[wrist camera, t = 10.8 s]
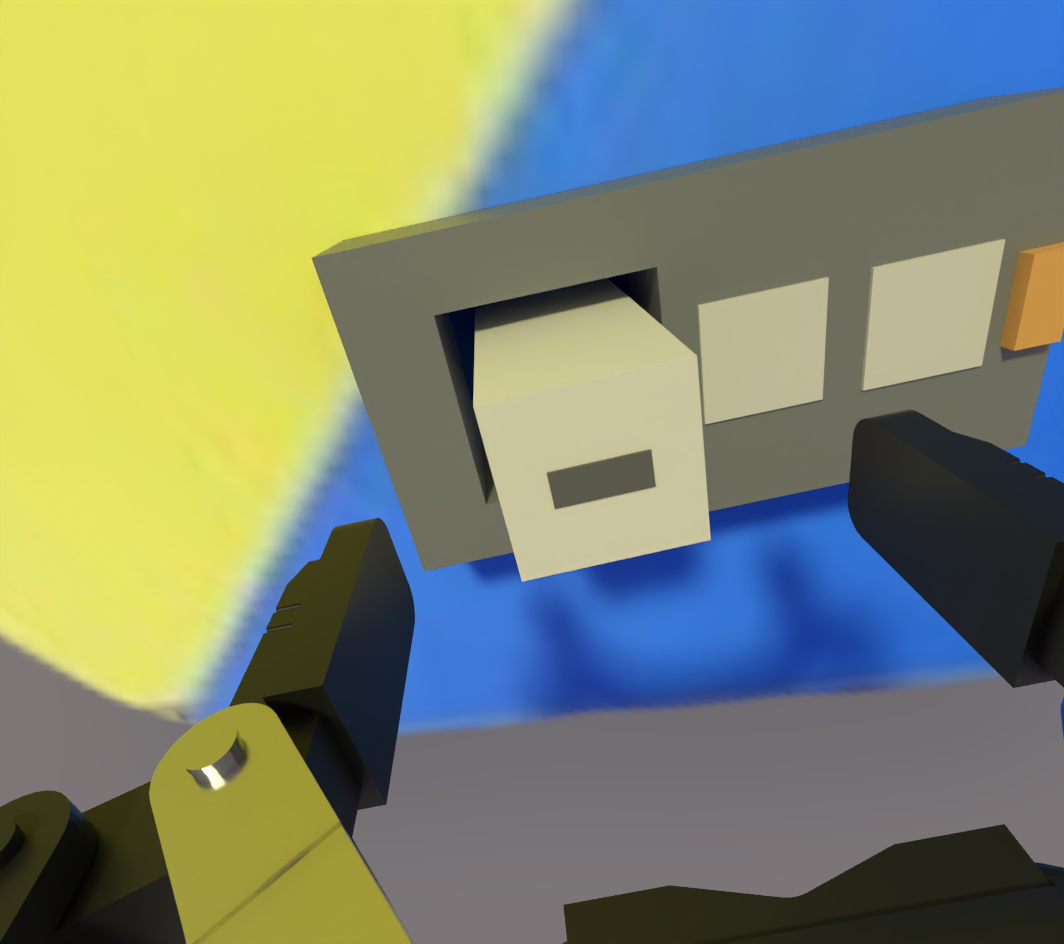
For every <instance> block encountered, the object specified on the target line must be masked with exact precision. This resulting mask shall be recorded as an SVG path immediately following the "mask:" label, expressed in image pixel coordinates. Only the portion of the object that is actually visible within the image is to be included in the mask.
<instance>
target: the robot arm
mask: <svg viewBox="0 0 1064 944" xmlns="http://www.w3.org/2000/svg"><path fill="white" fill-rule="evenodd" d="M848 508H849V513H850V517H851V520H852V522H853V525H854V527H855V528H856V530H857V532H858V533H859V535H860V536H861V537H862V538H863V539H864V540H865V541H866V542H867V543H868V544H869V545H870V546H871V547H872V548H873V549H874V550H875V551H876V552H877V553H878V554H879V555H880V556H881V557H882V558H883V559H884V560H885V561H886V562H887V563H888V564H889V565H890V566H891V567H892V568H893V569H894V570H895V571H896V572H897V573H898V574H899V575H900V576H901V577H902V578H903V579H904V580H905V581H906V582H907V583H908V584H909V585H910V586H911V587H912V588H913V589H914V590H915V591H916V592H917V593H918V594H919V595H920V596H921V597H922V598H923V599H924V600H925V601H926V602H927V603H928V604H929V605H930V606H931V607H932V608H933V609H934V610H935V611H937V612H938V613H939V614H940V615H941V616H942V617H943V618H944V619H945V620H946V621H947V622H948V623H949V624H950V625H951V626H952V627H953V628H954V629H955V630H956V631H957V632H958V633H959V634H960V635H961V636H962V637H963V638H964V639H965V640H966V641H967V642H968V643H969V644H970V645H971V646H972V647H973V648H974V649H975V650H976V651H977V652H978V653H979V654H980V655H981V656H982V657H983V658H984V659H985V660H986V661H987V662H988V663H989V664H990V665H991V666H992V667H993V668H994V669H995V670H996V671H997V672H998V673H999V674H1000V675H1001V676H1002V677H1003V678H1004V679H1005V680H1006V681H1007V682H1008V683H1009V684H1010V685H1011V686H1012V687H1013V688H1015V687H1021V686H1026V685H1031V684H1036V683H1041V682H1047V681H1052V680H1056V681H1057V682H1058V683H1059V684H1061V685H1062V686H1063V687H1064V483H1062V482H1060V481H1058V480H1057V479H1055V478H1053V477H1048V478H1046V476H1045V473H1044V472H1042V471H1040V470H1039V469H1037V468H1035V467H1033V466H1031V465H1029V464H1028V463H1026V462H1025V463H1020V459H1019V458H1017V457H1015V456H1013V455H1011V454H1010V453H1008V452H1006V451H1004V450H1002V449H1001V448H999V447H997V446H995V445H993V444H992V443H990V442H986V441H983V440H979V439H976V438H972V437H969V436H966V435H962V434H959V433H955V432H952V431H950V430H949V429H947V428H945V427H943V426H942V425H940V424H938V423H936V422H935V421H933V420H931V419H930V418H928V417H926V416H924V415H923V414H921V413H919V412H917V411H915V410H904V411H899V412H894V413H889V414H885V415H880V416H875V417H870V418H865V419H862V420H860V421H859V422H858V423H857V424H856V426H855V429H854V432H853V441H852V454H851V466H850V479H849V491H848ZM276 610H277V612H276V613H273V615H272V617H271V620H270V622H269V624H268V626H267V628H266V629H267V633H264V634H263V636H262V639H261V641H260V643H259V645H258V647H257V649H256V651H255V653H254V655H253V658H252V660H251V662H250V664H249V666H248V668H247V670H246V672H245V674H244V676H243V679H242V681H241V683H240V685H239V687H238V689H237V691H236V693H235V695H234V698H233V700H232V702H231V704H230V706H229V707H228V708H226V709H223V710H221V711H218V712H216V713H214V714H212V715H210V716H209V717H207V718H205V719H204V720H202V721H201V722H199V723H198V724H196V725H195V726H194V727H192V728H191V729H190V730H189V731H187V732H186V733H185V734H184V735H183V736H182V737H181V738H180V739H179V740H178V741H177V742H176V743H175V744H174V745H173V746H172V747H171V748H170V749H169V751H168V752H167V753H166V754H165V756H164V757H163V759H162V760H161V762H160V763H159V765H158V767H157V769H156V771H155V773H154V774H153V777H152V780H151V782H148V783H146V784H144V785H142V786H139V787H137V788H135V789H133V790H131V791H129V792H126V793H124V794H122V795H120V796H118V797H116V798H113V799H112V800H109V801H107V802H105V803H103V804H101V805H98V806H96V807H94V808H92V809H90V810H88V811H85V812H83V813H81V812H80V811H79V809H77V807H76V806H75V805H74V804H72V802H71V801H70V800H69V799H68V798H67V797H66V796H64V795H63V794H62V793H60V792H56V791H41V792H35V793H32V794H28V795H25V796H23V797H20V798H18V799H15V800H13V801H11V802H9V803H7V804H6V805H3V806H2V807H0V944H415V942H414V941H413V939H412V938H411V936H410V934H409V933H408V931H407V929H406V927H405V926H404V924H403V922H402V921H401V919H400V917H399V916H398V914H397V912H396V911H395V909H394V907H393V906H392V904H391V902H390V901H389V899H388V897H387V896H386V894H385V892H384V891H383V889H382V887H381V886H380V884H379V882H378V880H377V879H376V877H375V875H374V874H373V872H372V870H371V869H370V867H369V865H368V864H367V862H366V860H365V859H364V857H363V855H362V854H361V852H360V850H359V849H358V847H357V845H356V844H355V842H354V840H353V839H352V835H353V830H354V824H355V819H356V815H357V810H360V809H365V808H370V807H375V806H380V805H386V803H387V796H388V790H389V784H390V777H391V770H392V764H393V757H394V751H395V745H396V739H397V733H398V726H399V720H400V713H401V707H402V701H403V694H404V688H405V682H406V675H407V669H408V662H409V656H410V650H411V643H412V637H413V630H414V623H415V611H414V602H413V597H412V593H411V589H410V586H409V584H408V581H407V578H406V576H405V573H404V571H403V568H402V565H401V563H400V560H399V558H398V555H397V552H396V550H395V547H394V545H393V542H392V539H391V537H390V534H389V532H388V529H387V527H386V525H385V523H384V522H383V521H382V520H381V519H380V518H375V519H370V520H366V521H361V522H356V523H351V524H346V525H341V526H337V527H335V528H334V529H333V530H332V532H331V535H330V537H329V539H328V542H327V544H326V546H325V549H324V551H323V554H322V556H321V558H320V560H316V561H311V562H308V563H307V564H306V565H305V566H304V567H303V568H302V570H301V571H300V572H299V573H298V574H297V575H296V576H295V577H294V578H293V579H292V580H291V581H290V582H289V583H288V584H287V586H286V588H285V590H284V592H283V594H282V596H281V598H280V601H279V603H278V605H277V607H276ZM1061 717H1062V718H1061V719H1062V728H1063V736H1064V698H1063V701H1062V704H1061ZM564 914H565V923H566V934H567V942H565V943H563V944H1064V868H1062V867H1057V866H1052V865H1047V864H1042V863H1035V862H1033V860H1032V859H1031V858H1030V856H1029V855H1028V854H1027V853H1026V851H1025V850H1024V849H1023V848H1022V846H1021V845H1020V844H1019V843H1018V841H1017V840H1016V838H1015V837H1014V836H1013V835H1012V834H1011V832H1010V831H1009V830H1008V828H1007V827H1006V826H1005V825H1004V824H1003V825H998V826H993V827H987V828H981V829H976V830H970V831H965V832H960V833H954V834H949V835H944V836H938V837H932V838H927V839H922V840H916V841H911V842H905V843H900V844H895V845H892V846H890V847H889V848H887V849H885V850H883V851H882V852H880V853H878V854H876V855H874V856H872V857H871V858H869V859H867V860H865V861H863V862H862V863H860V864H858V865H856V866H854V867H853V868H851V869H849V870H847V871H845V872H844V873H842V874H840V875H838V876H836V877H835V878H833V879H831V880H829V881H827V882H826V883H824V884H822V885H820V886H819V887H816V888H815V889H813V890H811V891H809V892H808V893H805V894H803V895H801V896H797V897H792V898H781V897H771V896H762V895H753V894H743V893H734V892H725V891H716V890H707V889H698V888H688V887H679V886H664V887H659V888H654V889H649V890H643V891H637V892H632V893H627V894H621V895H615V896H610V897H604V898H599V899H593V900H588V901H582V902H577V903H572V904H566V905H564Z"/></svg>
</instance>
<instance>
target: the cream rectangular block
mask: <svg viewBox="0 0 1064 944" xmlns="http://www.w3.org/2000/svg"><path fill="white" fill-rule="evenodd" d="M473 408H474V411H475V415H476V419H477V422H478V426H479V429H480V433H481V437H482V440H483V444H484V447H485V451H486V455H487V458H488V462H489V465H490V469H491V472H492V476H493V480H494V483H495V487H496V490H497V494H498V498H499V501H500V505H501V508H502V512H503V515H504V519H505V523H506V526H507V530H508V533H509V537H510V541H511V544H512V548H513V551H514V555H515V558H516V562H517V566H518V569H519V573H520V576H521V580H522V582H523V581H527V580H532V579H536V578H541V577H545V576H550V575H554V574H559V573H563V572H568V571H573V570H577V569H582V568H586V567H591V566H595V565H600V564H604V563H609V562H613V561H618V560H622V559H627V558H631V557H636V556H640V555H645V554H650V553H654V552H659V551H663V550H668V549H672V548H677V547H681V546H686V545H690V544H695V543H699V542H704V541H708V540H711V537H710V523H709V510H708V496H707V483H706V469H705V456H704V442H703V429H702V415H701V401H700V388H699V374H698V361H697V355H696V354H695V353H694V352H692V351H691V350H690V349H689V348H688V347H687V346H685V345H684V344H683V343H682V342H681V341H680V340H678V339H677V338H676V337H675V336H674V335H673V334H672V333H670V332H669V331H668V330H667V329H666V328H665V327H663V326H662V325H661V324H660V323H659V322H658V321H656V320H655V319H654V318H653V317H652V316H651V315H649V314H648V313H647V312H646V311H645V310H644V309H643V308H641V307H640V306H639V305H638V304H637V303H636V302H634V301H633V300H632V299H631V298H630V297H629V296H627V295H626V294H625V293H624V292H623V291H622V290H620V289H619V288H618V287H617V286H616V285H615V284H614V283H612V282H611V281H610V280H609V279H608V278H604V279H599V280H595V281H590V282H586V283H582V284H578V285H573V286H569V287H565V288H560V289H556V290H552V291H548V292H543V293H539V294H535V295H530V296H526V297H522V298H518V299H513V300H509V301H505V302H500V303H496V304H492V305H488V306H483V307H479V308H475V347H474V393H473Z"/></svg>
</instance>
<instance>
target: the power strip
mask: <svg viewBox="0 0 1064 944" xmlns="http://www.w3.org/2000/svg"><path fill="white" fill-rule="evenodd" d="M312 260H313V263H314V266H315V269H316V271H317V274H318V277H319V280H320V283H321V285H322V288H323V291H324V294H325V296H326V299H327V302H328V305H329V308H330V310H331V313H332V316H333V319H334V321H335V324H336V327H337V330H338V333H339V335H340V338H341V341H342V344H343V346H344V349H345V352H346V355H347V358H348V360H349V363H350V366H351V369H352V371H353V374H354V377H355V380H356V382H357V385H358V388H359V391H360V394H361V396H362V399H363V402H364V405H365V407H366V410H367V413H368V416H369V419H370V421H371V424H372V427H373V430H374V432H375V435H376V438H377V441H378V444H379V446H380V449H381V452H382V455H383V457H384V460H385V463H386V466H387V469H388V471H389V474H390V477H391V480H392V482H393V485H394V488H395V491H396V494H397V496H398V499H399V502H400V505H401V507H402V510H403V513H404V516H405V519H406V521H407V524H408V527H409V530H410V532H411V535H412V538H413V541H414V544H415V546H416V549H417V552H418V555H419V557H420V560H421V563H422V566H423V569H424V571H428V570H433V569H437V568H442V567H447V566H452V565H457V564H461V563H466V562H471V561H476V560H480V559H485V558H490V557H495V556H499V555H504V554H509V553H514V551H513V548H512V544H511V541H510V537H509V533H508V530H507V526H506V523H505V519H504V515H503V512H502V508H501V505H500V501H499V498H498V494H497V490H496V487H495V483H494V480H493V476H492V472H491V469H490V465H489V462H488V458H487V455H486V451H485V450H484V446H483V442H482V438H481V434H480V431H479V427H478V423H477V419H476V415H475V412H474V408H473V404H472V400H471V396H470V393H469V389H468V385H467V381H466V377H465V374H464V370H463V366H462V362H461V358H460V355H459V351H458V347H457V343H456V339H455V335H454V332H453V328H452V324H451V320H450V316H449V313H448V312H453V311H457V310H462V309H466V308H471V307H476V306H480V305H485V304H489V303H494V302H499V301H503V300H508V299H512V298H517V297H521V296H526V295H531V294H535V293H540V292H544V291H549V290H553V289H558V288H563V287H567V286H572V285H576V284H581V283H586V282H590V281H595V280H599V279H604V278H608V277H613V276H618V275H622V274H627V279H628V288H629V297H630V298H631V299H632V300H633V301H634V302H636V303H637V304H638V305H639V306H640V307H641V308H643V309H644V310H645V311H646V312H647V313H648V314H649V315H651V316H652V317H653V318H654V319H655V320H656V321H658V322H659V323H660V324H661V325H662V326H663V327H665V328H666V329H667V330H668V331H669V332H670V333H672V334H673V335H674V336H675V337H676V338H677V339H678V340H680V341H681V342H682V343H683V344H684V345H685V346H687V347H688V348H689V349H690V350H691V351H692V352H694V353H695V354H696V355H697V361H698V374H699V388H700V401H701V415H702V429H703V442H704V456H705V469H706V483H707V496H708V510H709V511H714V510H719V509H724V508H728V507H733V506H738V505H743V504H747V503H752V502H757V501H762V500H766V499H771V498H776V497H781V496H785V495H790V494H795V493H800V492H805V491H809V490H814V489H819V488H824V487H828V486H833V485H838V484H843V483H847V482H849V479H850V466H851V454H852V441H853V432H854V429H855V426H856V424H857V423H858V422H859V421H860V420H862V419H865V418H870V417H875V416H880V415H885V414H889V413H894V412H899V411H904V410H915V411H917V412H919V413H921V414H923V415H924V416H926V417H928V418H930V419H931V420H933V421H935V422H936V423H938V424H940V425H942V426H943V427H945V428H947V429H949V430H950V431H952V432H955V433H959V434H962V435H966V436H969V437H972V438H976V439H979V440H983V441H986V442H990V443H992V444H993V445H995V446H997V447H999V448H1001V449H1002V450H1005V449H1010V448H1014V447H1019V446H1024V445H1026V444H1027V440H1028V436H1029V431H1030V427H1031V423H1032V419H1033V415H1034V411H1035V407H1036V403H1037V398H1038V394H1039V390H1040V386H1041V382H1042V378H1043V374H1044V370H1045V366H1046V361H1047V357H1048V353H1049V349H1050V345H1051V343H1054V342H1059V341H1061V337H1062V333H1063V329H1064V87H1061V88H1054V89H1046V90H1039V91H1031V92H1024V93H1017V94H1009V95H1002V96H994V97H988V98H983V99H979V100H974V101H970V102H965V103H961V104H956V105H952V106H947V107H943V108H938V109H934V110H929V111H925V112H920V113H916V114H911V115H907V116H902V117H898V118H893V119H889V120H884V121H880V122H875V123H871V124H866V125H862V126H857V127H853V128H848V129H844V130H839V131H835V132H830V133H826V134H821V135H816V136H812V137H807V138H803V139H798V140H794V141H789V142H785V143H780V144H776V145H771V146H767V147H762V148H758V149H753V150H749V151H744V152H740V153H735V154H731V155H726V156H722V157H717V158H713V159H708V160H704V161H699V162H695V163H690V164H686V165H681V166H677V167H672V168H668V169H663V170H659V171H654V172H650V173H645V174H641V175H636V176H632V177H627V178H623V179H618V180H613V181H609V182H604V183H600V184H595V185H591V186H586V187H582V188H577V189H573V190H568V191H564V192H559V193H555V194H550V195H546V196H541V197H537V198H532V199H528V200H523V201H519V202H514V203H510V204H505V205H501V206H496V207H492V208H487V209H483V210H478V211H474V212H469V213H465V214H460V215H456V216H451V217H447V218H442V219H438V220H433V221H429V222H424V223H419V224H415V225H410V226H406V227H401V228H397V229H392V230H388V231H383V232H379V233H374V234H370V235H365V236H361V237H356V238H352V239H347V240H343V241H342V242H340V243H338V244H336V245H334V246H332V247H331V248H329V249H327V250H325V251H323V252H322V253H320V254H318V255H316V256H314V257H312Z"/></svg>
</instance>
